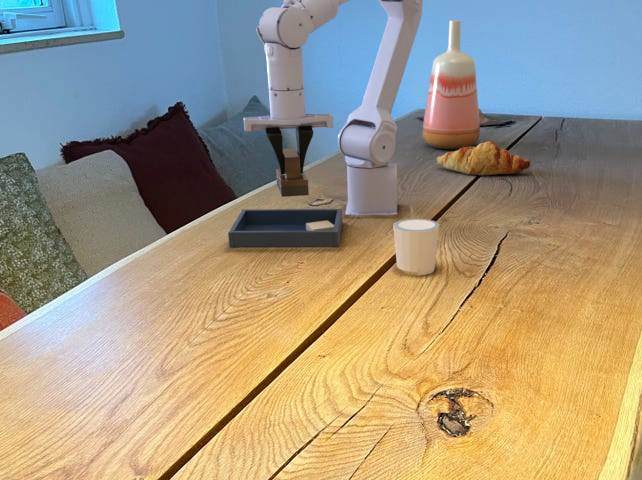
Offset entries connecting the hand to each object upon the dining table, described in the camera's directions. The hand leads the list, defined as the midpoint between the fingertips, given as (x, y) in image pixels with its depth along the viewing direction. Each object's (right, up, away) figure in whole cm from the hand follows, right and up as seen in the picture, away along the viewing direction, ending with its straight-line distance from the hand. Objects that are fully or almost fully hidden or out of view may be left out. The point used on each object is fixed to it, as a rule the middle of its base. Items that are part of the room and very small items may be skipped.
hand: (291, 172), depth 134 cm
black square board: (+31, +33, +85) cm, 96 cm away
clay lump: (+5, -10, +1) cm, 11 cm away
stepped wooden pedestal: (0, -3, +1) cm, 3 cm away
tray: (-1, -11, 0) cm, 11 cm away
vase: (+33, +23, +68) cm, 79 cm away
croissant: (+38, +10, +43) cm, 58 cm away
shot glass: (+20, -18, -14) cm, 31 cm away
